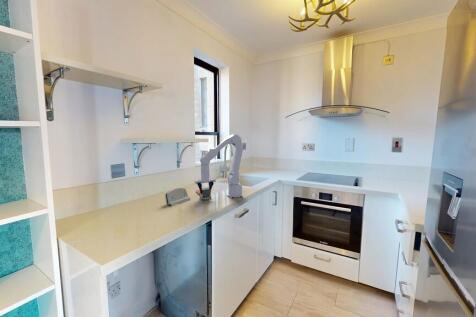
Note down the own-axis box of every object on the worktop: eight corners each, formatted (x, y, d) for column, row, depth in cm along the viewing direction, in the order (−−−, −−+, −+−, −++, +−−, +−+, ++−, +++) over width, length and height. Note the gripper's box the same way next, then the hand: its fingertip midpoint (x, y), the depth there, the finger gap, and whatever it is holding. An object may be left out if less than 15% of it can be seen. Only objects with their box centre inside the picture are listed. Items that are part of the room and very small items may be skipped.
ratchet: (203, 191, 167) (203, 185, 166) (212, 199, 144) (212, 192, 143) (193, 192, 163) (193, 186, 163) (201, 201, 141) (201, 194, 140)
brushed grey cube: (208, 194, 149) (208, 187, 149) (210, 196, 144) (210, 189, 144) (200, 195, 147) (200, 188, 146) (202, 197, 142) (202, 189, 141)
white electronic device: (171, 206, 129) (167, 190, 130) (166, 207, 132) (162, 192, 133) (190, 199, 144) (186, 185, 144) (186, 201, 146) (182, 187, 147)
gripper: (213, 171, 151) (213, 190, 152) (193, 173, 145) (193, 192, 146) (216, 173, 144) (216, 192, 146) (195, 174, 138) (196, 195, 140)
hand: (205, 193), depth 145 cm, fingers closed on brushed grey cube, 5 cm apart
